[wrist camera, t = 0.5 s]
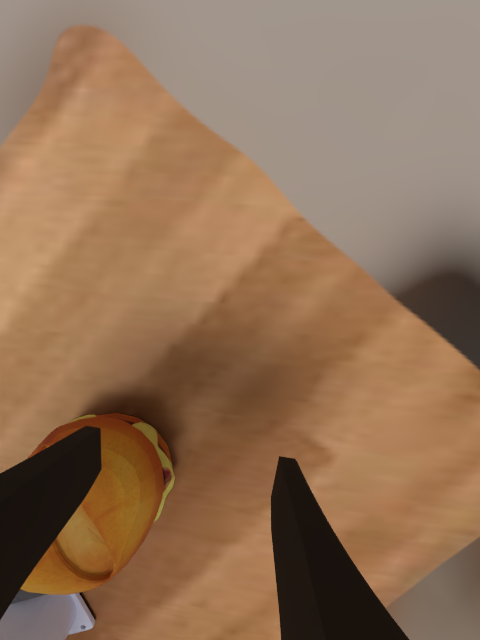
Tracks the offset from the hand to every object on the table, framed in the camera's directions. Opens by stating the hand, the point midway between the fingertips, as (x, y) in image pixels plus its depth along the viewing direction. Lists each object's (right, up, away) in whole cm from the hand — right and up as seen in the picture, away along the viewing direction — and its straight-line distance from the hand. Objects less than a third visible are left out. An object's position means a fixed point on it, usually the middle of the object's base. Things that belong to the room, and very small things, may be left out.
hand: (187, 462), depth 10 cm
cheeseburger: (-8, -5, +12) cm, 15 cm away
